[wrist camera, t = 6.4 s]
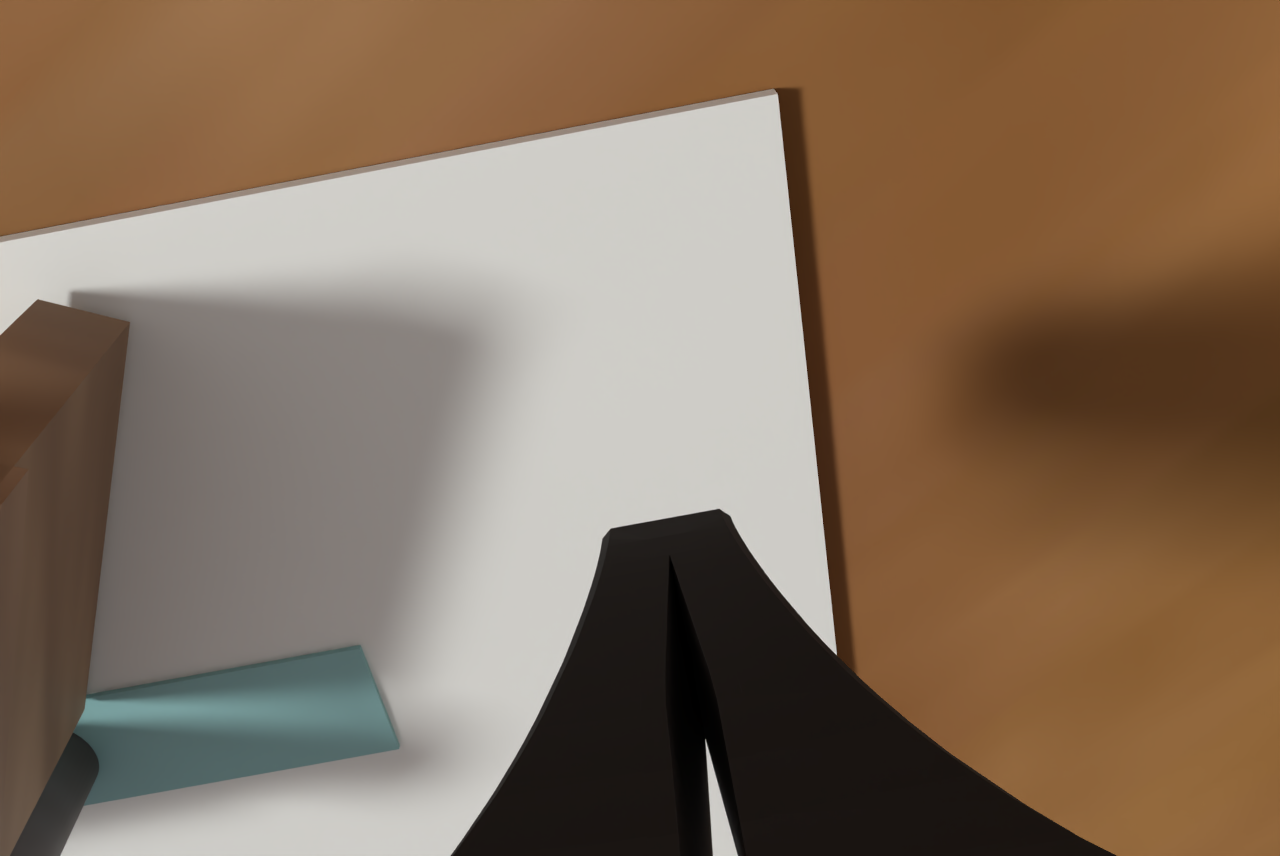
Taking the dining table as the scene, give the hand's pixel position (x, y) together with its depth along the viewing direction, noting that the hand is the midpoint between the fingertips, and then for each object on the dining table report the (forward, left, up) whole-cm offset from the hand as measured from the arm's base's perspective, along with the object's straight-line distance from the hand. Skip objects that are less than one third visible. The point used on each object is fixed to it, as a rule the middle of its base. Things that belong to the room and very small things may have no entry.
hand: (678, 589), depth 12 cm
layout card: (-5, +10, -5) cm, 12 cm away
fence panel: (0, +9, -5) cm, 10 cm away
